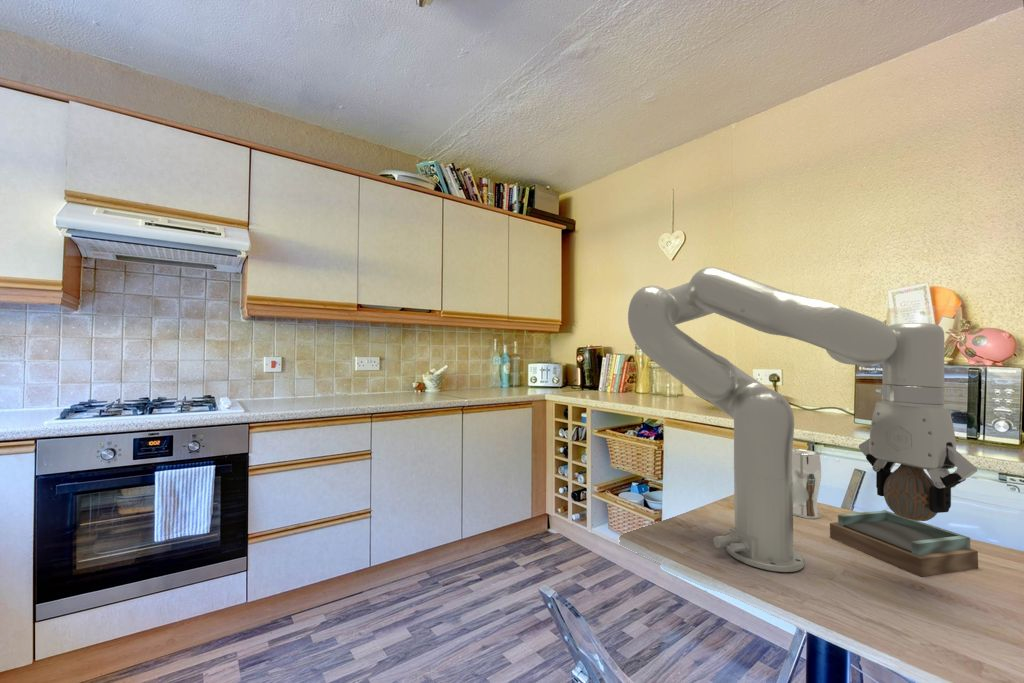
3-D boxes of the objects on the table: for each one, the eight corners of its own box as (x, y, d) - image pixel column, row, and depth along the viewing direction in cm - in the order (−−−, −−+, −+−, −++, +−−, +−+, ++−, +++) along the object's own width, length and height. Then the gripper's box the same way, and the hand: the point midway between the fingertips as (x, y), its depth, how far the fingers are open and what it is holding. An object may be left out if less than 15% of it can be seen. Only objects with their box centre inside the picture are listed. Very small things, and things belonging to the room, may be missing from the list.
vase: (909, 509, 73) (910, 459, 73) (953, 525, 66) (953, 470, 66) (872, 508, 73) (872, 458, 73) (911, 524, 66) (912, 469, 66)
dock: (921, 576, 71) (920, 547, 72) (830, 537, 87) (829, 513, 87) (978, 568, 75) (977, 539, 75) (880, 531, 90) (880, 508, 90)
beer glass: (810, 509, 103) (809, 449, 104) (828, 520, 96) (827, 455, 97) (780, 508, 104) (780, 448, 105) (797, 518, 97) (796, 454, 98)
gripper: (842, 391, 77) (841, 487, 77) (962, 402, 61) (962, 525, 60) (873, 392, 79) (872, 486, 79) (998, 403, 62) (998, 522, 62)
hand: (911, 502), depth 69 cm, fingers closed on vase, 6 cm apart
